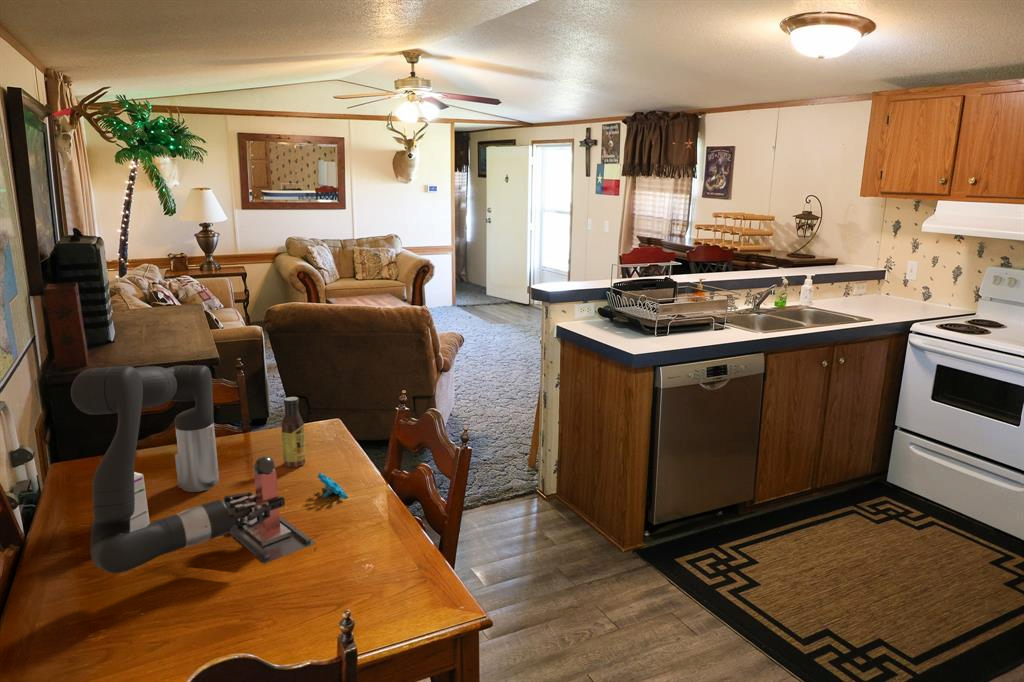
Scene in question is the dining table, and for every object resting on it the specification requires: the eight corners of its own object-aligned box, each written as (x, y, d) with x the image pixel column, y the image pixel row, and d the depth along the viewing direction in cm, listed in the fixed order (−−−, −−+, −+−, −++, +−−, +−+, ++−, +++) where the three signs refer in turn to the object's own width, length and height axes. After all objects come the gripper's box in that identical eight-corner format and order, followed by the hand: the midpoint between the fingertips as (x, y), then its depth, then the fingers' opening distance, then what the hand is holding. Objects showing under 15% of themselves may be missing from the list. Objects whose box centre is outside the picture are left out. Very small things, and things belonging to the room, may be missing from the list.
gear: (353, 500, 171) (323, 477, 167) (338, 518, 170) (307, 496, 166) (347, 487, 181) (318, 465, 178) (332, 505, 180) (303, 483, 177)
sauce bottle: (302, 468, 192) (297, 402, 188) (280, 468, 193) (275, 402, 188) (309, 459, 199) (305, 395, 194) (288, 459, 199) (283, 395, 194)
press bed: (212, 522, 162) (210, 503, 161) (260, 506, 170) (258, 488, 169) (265, 569, 143) (263, 548, 141) (316, 549, 151) (315, 528, 150)
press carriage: (242, 530, 155) (235, 452, 151) (271, 519, 160) (265, 444, 156) (262, 546, 148) (255, 466, 144) (291, 535, 153) (286, 457, 149)
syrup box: (151, 530, 158) (144, 472, 155) (128, 541, 153) (120, 482, 149) (135, 524, 160) (128, 468, 157) (111, 536, 155) (104, 477, 152)
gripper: (214, 519, 136) (293, 492, 148) (187, 495, 145) (264, 472, 157) (217, 552, 137) (295, 523, 149) (191, 527, 147) (266, 502, 159)
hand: (279, 497), depth 153 cm, fingers closed on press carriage, 3 cm apart
